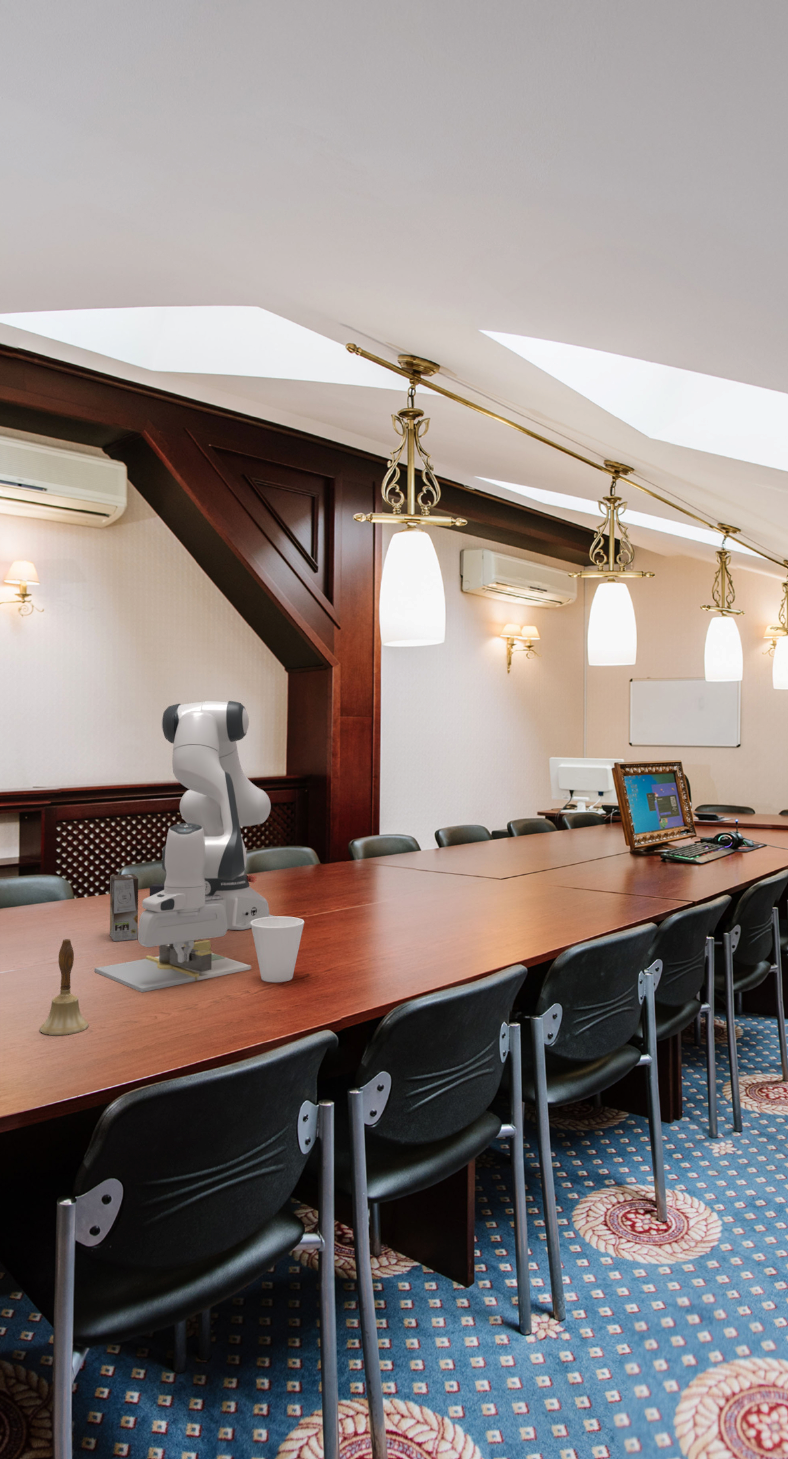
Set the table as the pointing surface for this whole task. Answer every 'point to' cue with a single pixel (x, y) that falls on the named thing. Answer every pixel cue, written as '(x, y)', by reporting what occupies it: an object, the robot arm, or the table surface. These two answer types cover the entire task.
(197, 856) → the robot arm
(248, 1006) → the table surface
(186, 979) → the base
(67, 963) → the hand bell
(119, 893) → the coffee box
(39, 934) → the table surface
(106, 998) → the table surface
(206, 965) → the bar
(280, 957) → the cup
